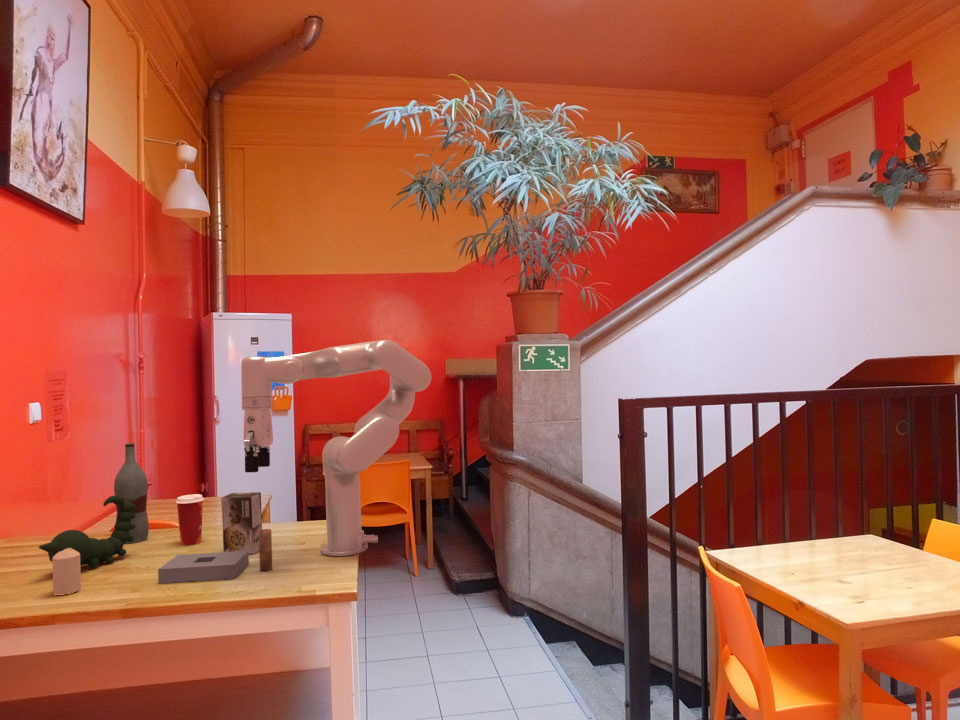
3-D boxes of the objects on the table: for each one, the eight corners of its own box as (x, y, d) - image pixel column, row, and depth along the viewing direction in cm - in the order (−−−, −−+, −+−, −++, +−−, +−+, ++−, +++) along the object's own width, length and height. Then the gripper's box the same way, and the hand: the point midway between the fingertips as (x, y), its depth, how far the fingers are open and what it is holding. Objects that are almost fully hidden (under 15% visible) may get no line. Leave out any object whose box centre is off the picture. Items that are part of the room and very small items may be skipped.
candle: (61, 588, 153) (60, 547, 153) (85, 587, 154) (84, 545, 154) (48, 596, 148) (47, 553, 148) (73, 595, 148) (71, 552, 148)
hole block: (248, 564, 168) (248, 550, 168) (234, 579, 156) (234, 564, 156) (177, 568, 166) (177, 554, 166) (158, 583, 154) (158, 569, 154)
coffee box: (263, 548, 183) (262, 491, 183) (253, 554, 177) (251, 496, 177) (233, 548, 184) (231, 492, 184) (222, 554, 178) (220, 496, 178)
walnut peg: (273, 567, 164) (272, 528, 164) (270, 571, 161) (269, 531, 161) (261, 568, 164) (260, 529, 164) (258, 572, 161) (257, 532, 161)
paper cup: (210, 541, 193) (209, 494, 193) (186, 547, 186) (185, 499, 187) (194, 538, 197) (193, 493, 197) (171, 544, 191) (170, 497, 191)
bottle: (108, 544, 194) (105, 445, 194) (130, 536, 202) (128, 441, 203) (134, 545, 192) (131, 445, 192) (156, 537, 200) (153, 441, 201)
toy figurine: (117, 559, 182) (25, 579, 160) (121, 492, 184) (30, 502, 162) (140, 562, 179) (48, 583, 156) (144, 494, 180) (53, 504, 158)
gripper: (261, 405, 158) (262, 474, 158) (280, 402, 176) (281, 464, 175) (230, 405, 158) (231, 474, 158) (253, 402, 175) (254, 465, 175)
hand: (257, 469), depth 166 cm, fingers open, 9 cm apart
